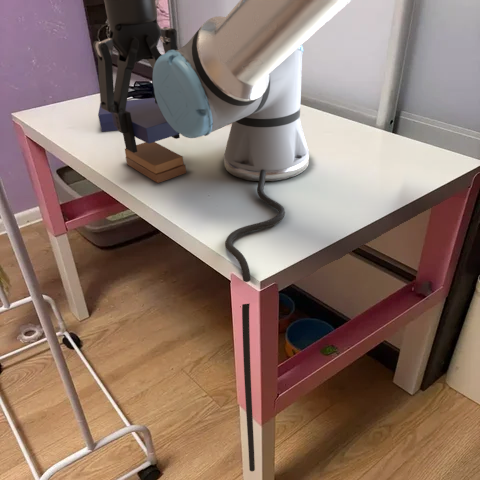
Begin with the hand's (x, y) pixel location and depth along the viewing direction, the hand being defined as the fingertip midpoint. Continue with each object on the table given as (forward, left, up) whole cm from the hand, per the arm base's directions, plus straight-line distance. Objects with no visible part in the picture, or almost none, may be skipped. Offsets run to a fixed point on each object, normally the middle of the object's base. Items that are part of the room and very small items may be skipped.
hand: (153, 143), depth 90 cm
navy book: (0, 0, +3) cm, 3 cm away
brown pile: (0, 0, -5) cm, 5 cm away
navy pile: (+26, +5, -5) cm, 27 cm away
